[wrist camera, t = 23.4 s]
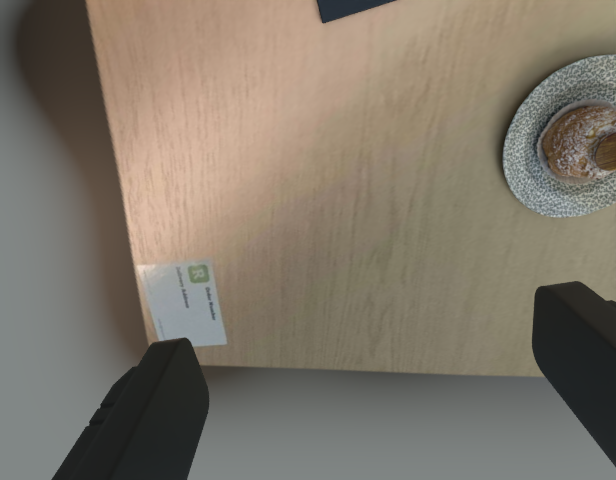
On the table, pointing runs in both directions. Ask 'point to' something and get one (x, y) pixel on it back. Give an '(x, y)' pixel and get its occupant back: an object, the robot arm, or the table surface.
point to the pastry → (566, 141)
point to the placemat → (345, 7)
